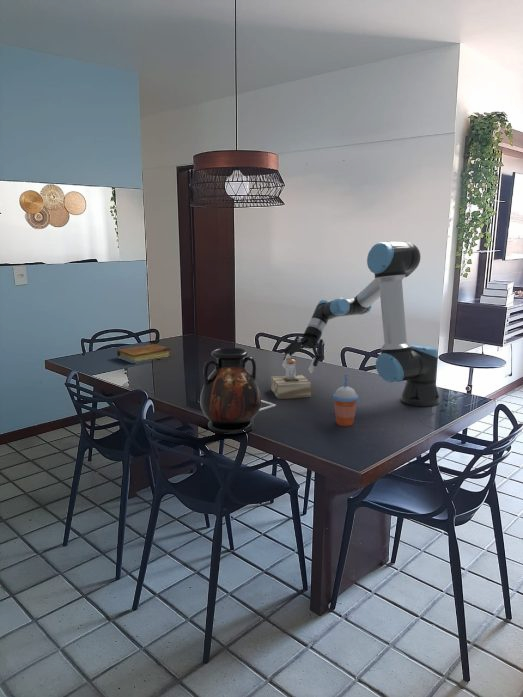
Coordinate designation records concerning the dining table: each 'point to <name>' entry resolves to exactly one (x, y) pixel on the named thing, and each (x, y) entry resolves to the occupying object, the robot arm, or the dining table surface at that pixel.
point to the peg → (290, 370)
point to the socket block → (290, 387)
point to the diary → (144, 352)
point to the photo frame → (268, 406)
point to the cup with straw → (345, 405)
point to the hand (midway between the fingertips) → (296, 369)
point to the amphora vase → (230, 392)
